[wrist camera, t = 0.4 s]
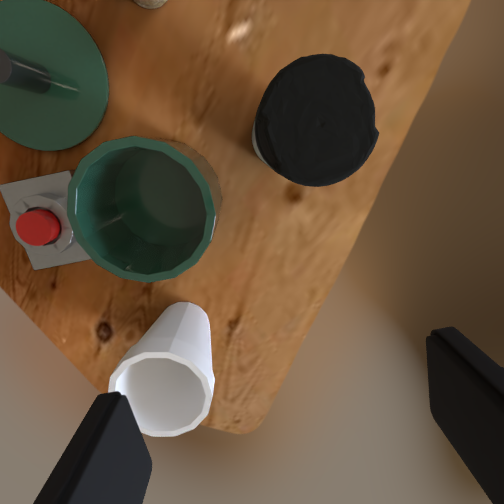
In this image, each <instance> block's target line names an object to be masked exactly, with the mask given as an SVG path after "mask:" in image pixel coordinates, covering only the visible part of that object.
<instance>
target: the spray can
mask: <svg viewBox="0 0 504 504" xmlns="http://www.w3.org/2000/svg"><path fill="white" fill-rule="evenodd" d="M364 78H365V76H364V73H363V71H362V70H361V69H360V67H358V66H357V65H356V64H355V63H353V62H351V61H350V60H348V59H346V58H343V57H338V56H335V55H332V54H317V55H310V56H307V57H301V58H299V59H297V60H295V61H293V62H292V63H290V64H289V65H287V66H286V67H284V68H283V69H281V70H280V71H279V72H278V73H277V75H276V76H275V77H274V78H273V80H272V81H271V82H270V83H269V85H268V87H267V89H266V91H265V92H264V95H263V97H262V99H261V102H260V104H259V107H258V110H257V113H256V117H255V121H254V125H253V130H252V143H253V147H254V150H255V152H256V154H257V155H258V157H259V158H260V159H261V160H262V161H263V162H264V163H266V164H267V165H268V166H269V167H270V168H272V169H273V170H274V171H275V172H277V173H278V174H280V175H282V176H284V177H285V178H287V179H288V180H290V181H292V182H295V183H297V184H301V185H304V186H314V187H320V186H327V185H331V184H335V183H337V182H340V181H342V180H344V179H346V178H347V177H349V176H350V175H352V174H353V173H354V172H356V171H357V170H358V169H359V168H360V167H361V166H362V165H363V164H364V163H365V161H366V160H367V159H368V157H369V155H370V154H371V152H372V151H373V149H374V147H375V144H376V142H377V139H378V135H379V132H378V130H377V129H376V127H375V107H374V102H373V100H372V97H371V94H370V92H369V90H368V89H367V87H366V85H365V83H364Z"/></svg>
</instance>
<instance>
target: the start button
mask: <svg viewBox="0 0 504 504" xmlns="http://www.w3.org/2000/svg"><path fill="white" fill-rule="evenodd" d="M16 231H17V233H18V235H19V237H20V238H21V239H22V240H23V241H24V242H26V243H27V244H29V245H33V246H41V245H44V244H46V243H48V242H50V241H53V240H54V239H56V238H57V237H58V235H59V233H60V224H59V221H58V219H57V218H56V216H55V215H54V214H52V213H51V212H49V211H47V210H44V209H36V210H33V211H29V212H26V213H23V214H22V215H20V216H19V218H18V219H17V221H16Z"/></svg>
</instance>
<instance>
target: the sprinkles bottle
mask: <svg viewBox="0 0 504 504" xmlns="http://www.w3.org/2000/svg"><path fill="white" fill-rule="evenodd" d="M133 1H134V2H135V3H137V4H138V5H139V6H141V7H144V8H147V9H154V8H158V7H161V6H162V5H163V4H164V3H165V2H166V1H167V0H133Z"/></svg>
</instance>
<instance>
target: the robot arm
mask: <svg viewBox="0 0 504 504" xmlns="http://www.w3.org/2000/svg"><path fill="white" fill-rule="evenodd" d="M426 350H427V366H428V382H429V398H430V409H431V413H432V415H433V418H434V420H435V421H436V423H437V424H438V426H439V427H440V428H441V430H442V431H443V433H444V434H445V436H446V437H447V438H448V440H449V441H450V443H451V444H452V446H453V447H454V449H455V450H456V451H457V453H458V454H459V455H460V457H461V459H462V460H463V462H464V463H465V464H466V466H467V467H468V469H469V470H470V472H471V473H472V474H473V476H474V477H475V479H476V480H477V482H478V483H479V484H480V486H481V487H482V489H483V490H484V492H485V493H486V495H487V496H488V497H489V499H490V500H491V502H492V503H493V504H504V368H503V367H500V366H499V365H498V364H497V363H495V362H494V361H493V360H492V359H491V358H490V357H488V356H487V355H486V354H485V353H484V352H483V351H481V350H480V349H479V348H478V347H477V346H476V345H474V344H473V343H472V342H471V341H470V340H469V339H467V338H466V337H465V336H464V335H463V334H462V333H460V332H459V331H458V330H457V329H456V328H454V327H446V328H441V329H436V330H432V331H431V336H427V338H426ZM151 471H152V460H151V457H150V455H149V452H148V449H147V447H146V444H145V442H144V439H143V437H142V434H141V431H140V429H139V426H138V424H137V421H136V419H135V416H134V414H133V411H132V409H131V406H130V404H129V401H128V398H127V397H126V395H121V393H120V392H119V391H114V392H109V393H104V394H100V395H98V396H97V397H96V399H95V401H94V402H93V404H92V406H91V407H90V409H89V411H88V412H87V414H86V416H85V417H84V419H83V421H82V422H81V424H80V426H79V427H78V429H77V431H76V432H75V434H74V436H73V438H72V439H71V441H70V443H69V444H68V446H67V448H66V449H65V451H64V453H63V454H62V456H61V458H60V460H59V461H58V463H57V465H56V466H55V468H54V469H53V471H52V473H51V474H50V476H49V478H48V480H47V481H46V483H45V485H44V486H43V488H42V490H41V491H40V493H39V495H38V496H37V498H36V500H35V501H34V503H33V504H142V503H143V499H144V496H145V493H146V489H147V486H148V482H149V479H150V475H151Z"/></svg>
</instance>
